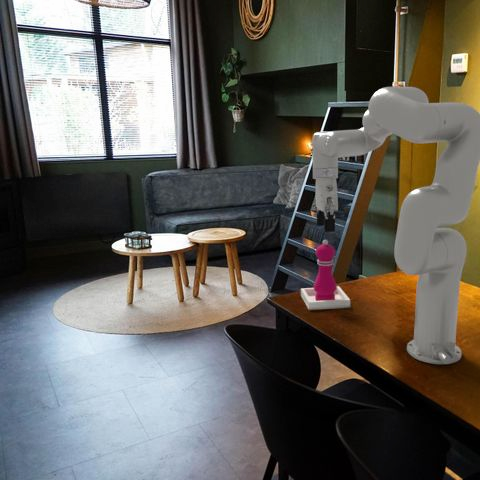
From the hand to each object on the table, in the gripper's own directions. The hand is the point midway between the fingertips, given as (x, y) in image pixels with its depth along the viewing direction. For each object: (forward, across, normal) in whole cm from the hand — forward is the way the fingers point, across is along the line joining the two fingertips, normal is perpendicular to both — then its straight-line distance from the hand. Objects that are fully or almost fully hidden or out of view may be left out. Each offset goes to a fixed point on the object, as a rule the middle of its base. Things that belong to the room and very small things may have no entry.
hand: (325, 228), depth 152 cm
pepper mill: (+24, 0, 0) cm, 24 cm away
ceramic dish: (+24, +1, 0) cm, 24 cm away
